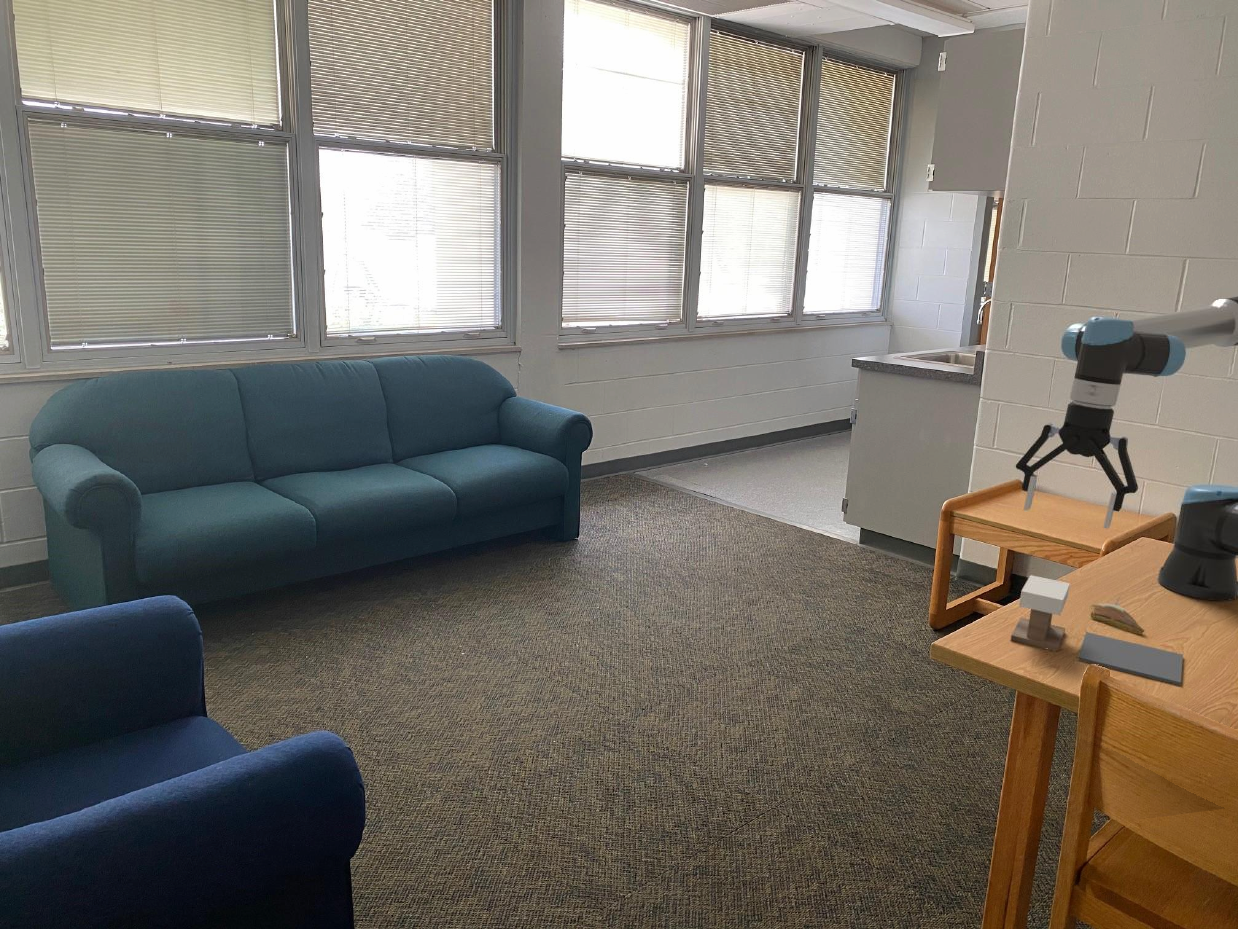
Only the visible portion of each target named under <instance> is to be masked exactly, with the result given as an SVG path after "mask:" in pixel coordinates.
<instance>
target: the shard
mask: <svg viewBox="0 0 1238 929" xmlns="http://www.w3.org/2000/svg"><path fill="white" fill-rule="evenodd" d="M1089 608H1090V609H1091V611H1092V613H1091V614H1090V618H1091V619H1092V620H1096V621H1100V622H1103V623H1106V624H1108V625H1111V626H1113V627H1116V628H1119V629H1121V630H1125V631H1126V632H1130V633H1133V634H1138V635H1139V636H1143V633H1144V632H1145V629H1143V628H1142V627H1141V625H1140V624H1138V622H1137V621H1136V620H1135V618H1134V617H1133V616H1132V615H1131V614H1130V613H1129V612H1126V611H1127V610H1126V609H1125V610H1126V611H1125V610H1122V609H1119V608H1116V607H1111V606H1101V605H1099V604H1098V605H1097V604H1090V605H1089Z"/></svg>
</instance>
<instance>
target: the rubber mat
mask: <svg viewBox="0 0 1238 929" xmlns="http://www.w3.org/2000/svg"><path fill="white" fill-rule="evenodd" d="M1077 659H1079V660H1082V661H1081V662H1083V661H1086V662H1085V663H1087V662H1089V663H1088V664H1091V663H1093V664H1092V665H1095V664H1099V665H1100V667H1103V666H1104V668H1107V667H1108V668H1107V669H1112V670H1115V671H1116V670H1117V671H1119V672H1124V673H1128V674H1132V675H1136V676H1140V677H1144V678H1149V679H1153V680H1157V681H1160V682H1165V683H1167V684H1173V685H1175V686H1181V684H1182V673H1183V660H1184V654H1181V653H1177V652H1174V651H1169V650H1164V649H1161V648H1157V647H1152V646H1149V645H1143V644H1139V643H1134V642H1130V641H1125V640H1123V639H1122V640H1121V639H1117V638H1114V637H1110V636H1109V637H1108V636H1105V635H1101V634H1096V633H1092V632H1088V631H1086V632H1085V635H1084V637H1083V640H1082V644H1081V647H1080V650H1079V653H1078V657H1077ZM1079 660H1078V661H1079ZM1099 665H1098V666H1099Z"/></svg>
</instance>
